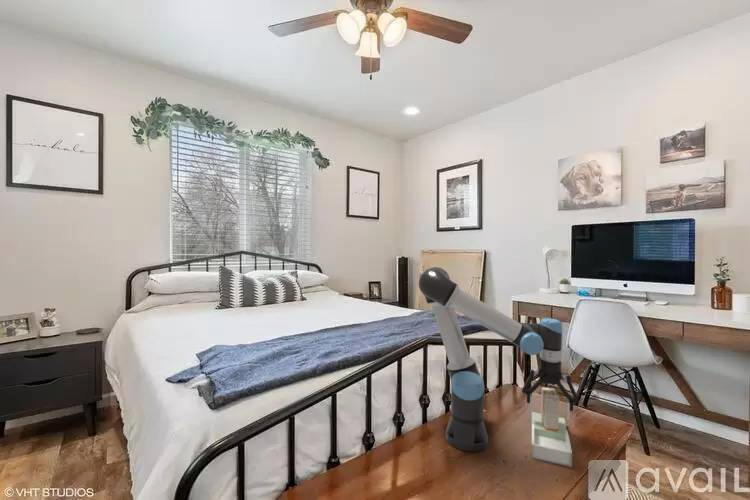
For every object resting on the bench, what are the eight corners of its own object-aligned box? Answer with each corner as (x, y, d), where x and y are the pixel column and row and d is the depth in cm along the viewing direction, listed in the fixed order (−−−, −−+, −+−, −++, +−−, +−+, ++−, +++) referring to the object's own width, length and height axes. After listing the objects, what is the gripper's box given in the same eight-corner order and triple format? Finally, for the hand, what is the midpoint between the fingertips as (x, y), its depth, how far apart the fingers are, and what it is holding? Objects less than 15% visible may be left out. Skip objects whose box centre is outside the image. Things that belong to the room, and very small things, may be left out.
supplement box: (559, 431, 131) (559, 396, 130) (545, 429, 132) (545, 395, 132) (553, 421, 139) (554, 388, 138) (540, 419, 140) (541, 386, 140)
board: (531, 435, 133) (531, 427, 133) (531, 419, 146) (531, 411, 146) (567, 443, 128) (567, 435, 128) (564, 425, 141) (564, 418, 141)
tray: (531, 457, 119) (531, 444, 119) (531, 435, 133) (531, 423, 133) (571, 467, 114) (572, 453, 114) (567, 443, 128) (567, 431, 128)
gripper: (515, 357, 137) (514, 412, 137) (588, 367, 127) (587, 426, 127) (516, 352, 143) (515, 404, 144) (585, 361, 133) (584, 417, 134)
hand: (549, 415), depth 135 cm, fingers open, 12 cm apart
